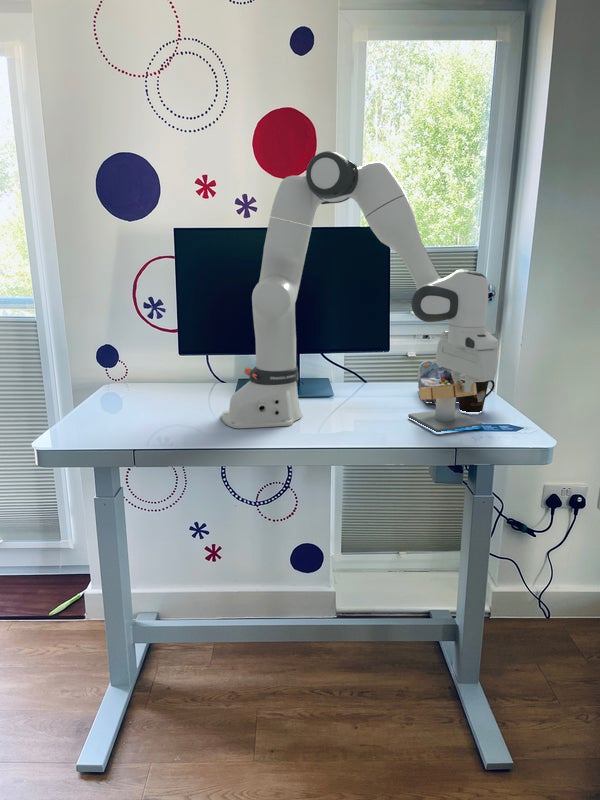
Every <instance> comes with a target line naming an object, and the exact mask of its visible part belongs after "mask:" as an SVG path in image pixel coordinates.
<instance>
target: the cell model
mask: <svg viewBox="0 0 600 800" xmlns="http://www.w3.org/2000/svg"><path fill="white" fill-rule="evenodd" d="M451 371H452V370H450V369H447V368H445V367H442V366H439V365H437V363H436V361H433V360H425V361H422V362H421V363H420V365H419V367H418V371H417V383H418V386H417V387H418V389H419V388H423V387H431V386H440V385H450V384H454V381H453V378H452V375H451ZM423 401H424V403H425V402H432V403H436V399H425V400H423ZM456 402H459V397H456Z"/></svg>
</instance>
